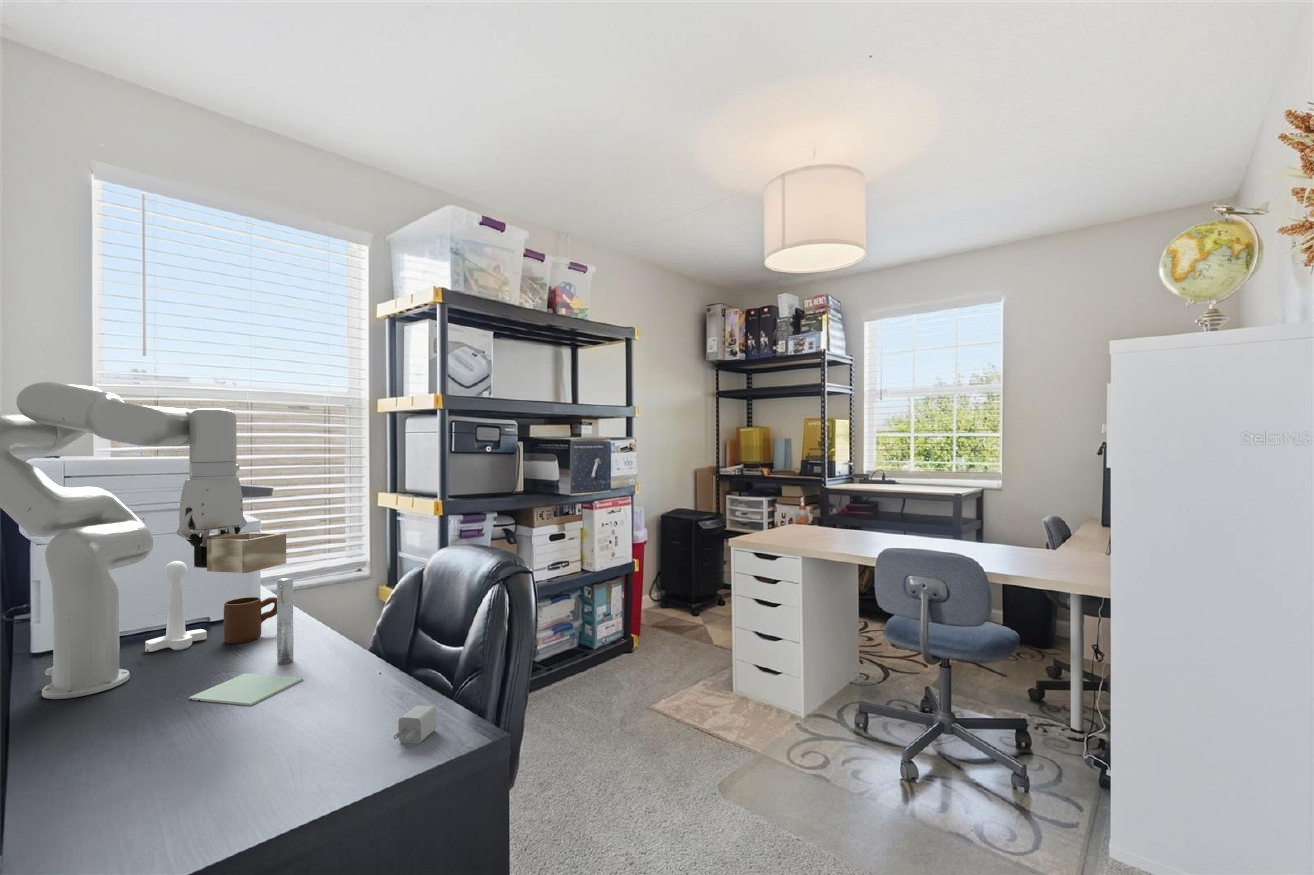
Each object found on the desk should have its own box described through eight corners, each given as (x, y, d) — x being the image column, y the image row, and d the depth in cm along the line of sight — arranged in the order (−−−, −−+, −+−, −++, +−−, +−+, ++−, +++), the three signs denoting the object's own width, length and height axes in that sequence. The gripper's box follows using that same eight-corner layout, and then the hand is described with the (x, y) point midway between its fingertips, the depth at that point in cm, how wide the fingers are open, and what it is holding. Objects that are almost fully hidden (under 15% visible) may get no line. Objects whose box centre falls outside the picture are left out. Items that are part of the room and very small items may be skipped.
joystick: (200, 637, 149) (199, 556, 150) (212, 642, 145) (212, 559, 145) (143, 650, 140) (142, 564, 140) (154, 656, 136) (154, 567, 136)
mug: (277, 628, 156) (277, 592, 156) (285, 635, 150) (285, 597, 150) (221, 639, 147) (221, 600, 148) (226, 646, 142) (226, 606, 142)
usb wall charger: (436, 731, 99) (436, 706, 99) (412, 752, 92) (411, 726, 92) (414, 729, 100) (413, 705, 100) (388, 750, 93) (388, 724, 93)
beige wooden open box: (181, 570, 115) (181, 538, 115) (224, 561, 124) (224, 531, 124) (246, 573, 112) (246, 540, 112) (286, 563, 120) (286, 533, 120)
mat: (188, 699, 112) (188, 697, 112) (245, 675, 124) (245, 673, 124) (250, 705, 109) (250, 703, 109) (303, 680, 121) (303, 678, 121)
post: (274, 664, 130) (273, 580, 130) (285, 659, 133) (284, 577, 133) (285, 664, 130) (285, 581, 130) (296, 659, 133) (296, 578, 133)
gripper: (235, 469, 128) (236, 555, 128) (154, 473, 111) (155, 572, 111) (265, 469, 126) (265, 556, 126) (187, 473, 110) (187, 574, 110)
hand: (213, 563), depth 119 cm, fingers closed on beige wooden open box, 4 cm apart
